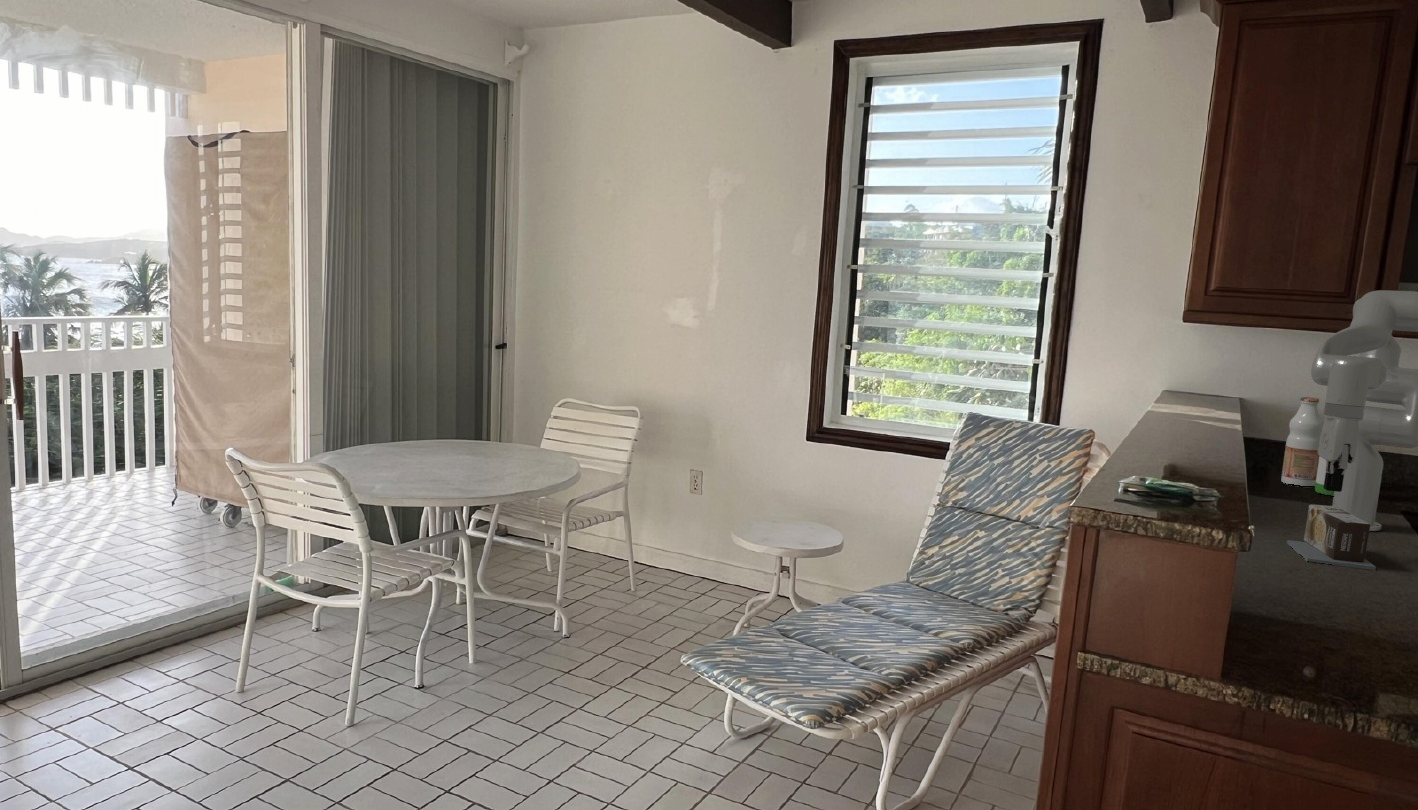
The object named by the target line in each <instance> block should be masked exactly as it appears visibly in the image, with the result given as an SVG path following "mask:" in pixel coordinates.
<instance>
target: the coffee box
mask: <svg viewBox="0 0 1418 810" xmlns="http://www.w3.org/2000/svg"><path fill="white" fill-rule="evenodd" d="M1369 530H1370V524H1369V523H1367V522H1365V521H1363V520H1361V519H1359V518H1357V517H1355V516H1354V515H1352V514H1350V513H1348V512H1346V511H1344V510H1342V509H1340V508H1338V507H1335V506H1332V505H1321V504H1309V505H1308V511H1307V518H1306V525H1305V531H1304V536H1303V542H1307V543H1309V544H1310V545H1312V546H1313V547H1315V548H1317V549H1318V550H1320V551H1321V552H1323V553H1324V554H1326V555H1327V556H1329V557H1330V558H1332V559H1333V560H1341V561H1350V562H1354V561H1356V562H1364V558H1365V557H1366V550H1367V545H1368V540H1369V536H1370V531H1369ZM1365 559H1366V558H1365Z"/></svg>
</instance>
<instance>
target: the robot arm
mask: <svg viewBox="0 0 1418 810" xmlns="http://www.w3.org/2000/svg"><path fill="white" fill-rule="evenodd" d="M1393 331H1399V332H1401V331H1402V332H1416V333H1417V332H1418V291H1417V290H1416V291H1414V290H1413V291H1412V290H1411V291H1410V290H1384V289H1383V290H1381V289H1380V290H1379V289H1378V290H1372V291H1369V292H1367V293H1365V294H1364V295H1363V296H1361V297H1360V298H1359V299H1357V300H1356V301H1355V302H1354V304H1353V307H1352V320H1351V323H1350V325H1349V326H1348V327H1347V328H1344V329H1342V330H1339V331H1337V332H1335V333H1334V334H1331V336H1328V337H1327V338H1326V339H1324V340H1323V342H1321V344H1320V345H1319V346H1318V349H1317V351H1316V354H1315V356H1314V358H1313V362H1312V364H1311V369H1310V375H1311V376H1310V377H1311V379H1312V380H1313V382H1314V383H1316V384H1317V385H1320V386H1326V387H1327V389H1326V396H1325V403H1324V408H1323V416H1322V417H1323V418H1324V421H1323V428H1322V432H1321V435H1320V442H1319V447H1318V455H1319V456H1320V457H1322V458H1324V459H1325V460H1326V461H1327V463H1326V474H1325V481H1324V489H1326V490H1327V491H1334V497H1332V498H1333V499H1332V505H1331V506H1335V507H1338V508H1340V509H1342V510H1344V511H1346V512H1348V513H1350V514H1352V515H1354V516H1355V517H1357V518H1359V519H1361V520H1363V521H1365V522H1367V523H1369V524H1370V530H1369V532H1377V531H1381V530H1382V526H1383V525H1382V524H1381V523H1379V522H1377V521H1376V517H1377V516H1376V515H1377V508H1378V502H1379V494H1380V489H1381V483H1382V476H1383V470H1384V460H1383V458H1382V456H1381V454H1380V453H1379V451H1378V450H1377V449H1376V447H1375V446H1376V445H1377V446H1388V447H1395V448H1402V449H1414V448H1417V447H1418V368H1411V367H1410V368H1409V367H1400V366H1399V363H1400V358H1401V352H1402V350H1401V346H1400V344H1399V342H1398V341H1397V339H1396V338H1395V337H1394V336H1393V335H1392V334H1393ZM1358 354H1359V355H1358ZM1355 355H1358V356H1355ZM1366 402H1371V403H1377V404H1378V403H1379V404H1389V405H1399V406H1402V407H1404V408H1405V410H1404V409H1395V408H1386V407H1379V406H1370V405H1366Z"/></svg>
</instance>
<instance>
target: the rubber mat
mask: <svg viewBox="0 0 1418 810" xmlns="http://www.w3.org/2000/svg"><path fill="white" fill-rule="evenodd" d="M1286 545H1288V546H1289V547H1290V546H1291V547H1292V548H1293V549H1292V548H1291V547H1290V548H1291V549H1292V550H1293V551H1295V552H1296V553H1297V554H1298V555H1299V554H1301V555H1302V556H1303V558H1305V559H1304V561H1305V562H1307V561H1315V562H1320V563H1325V564H1324V565H1328V564H1332V565H1331V566H1338V567H1345V568H1353V569H1361V570H1362V569H1363V570H1369V571H1376V568H1377V566H1375V565H1374V564H1373V563H1371V562H1370V561H1369V560H1368V559H1366V558H1364V562H1356V561H1354V562H1350V561H1341V560H1333V559H1332V558H1330V557H1329V556H1327V555H1326V554H1324V553H1323V552H1321V551H1320V550H1318V549H1317V548H1315V547H1313V546H1312V545H1310V544H1309V543H1307V542H1306V541H1297V540H1289V539H1287V541H1286ZM1303 558H1302V559H1303Z"/></svg>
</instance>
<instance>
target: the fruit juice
mask: <svg viewBox="0 0 1418 810" xmlns="http://www.w3.org/2000/svg"><path fill="white" fill-rule="evenodd" d="M1299 401H1300V406H1299V408H1298V410H1297V412H1296V413H1295V415H1294V416H1293V417H1292V418H1291V419H1290V420H1289V424H1288V427H1289V434H1288V436H1287V438H1286V442H1285V447H1284V449H1285V450H1284V456H1283V463H1282V470H1281V478H1280V479H1281V483H1282V482H1283V484H1285V483H1286V484H1285V485H1288V484H1294V485H1300V486H1314V487H1315V485H1316V477H1317V470H1318V463H1319V457H1320V456H1319V455H1318V447H1319V442H1320V437H1321V432H1322V428H1323V424H1324V421H1323V420H1322V419H1321V417H1320V413H1319V408H1318V405H1319V403H1320V399H1319V398H1316V397H1308V396H1307V397H1306V396H1301V397H1300V399H1299Z"/></svg>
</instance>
